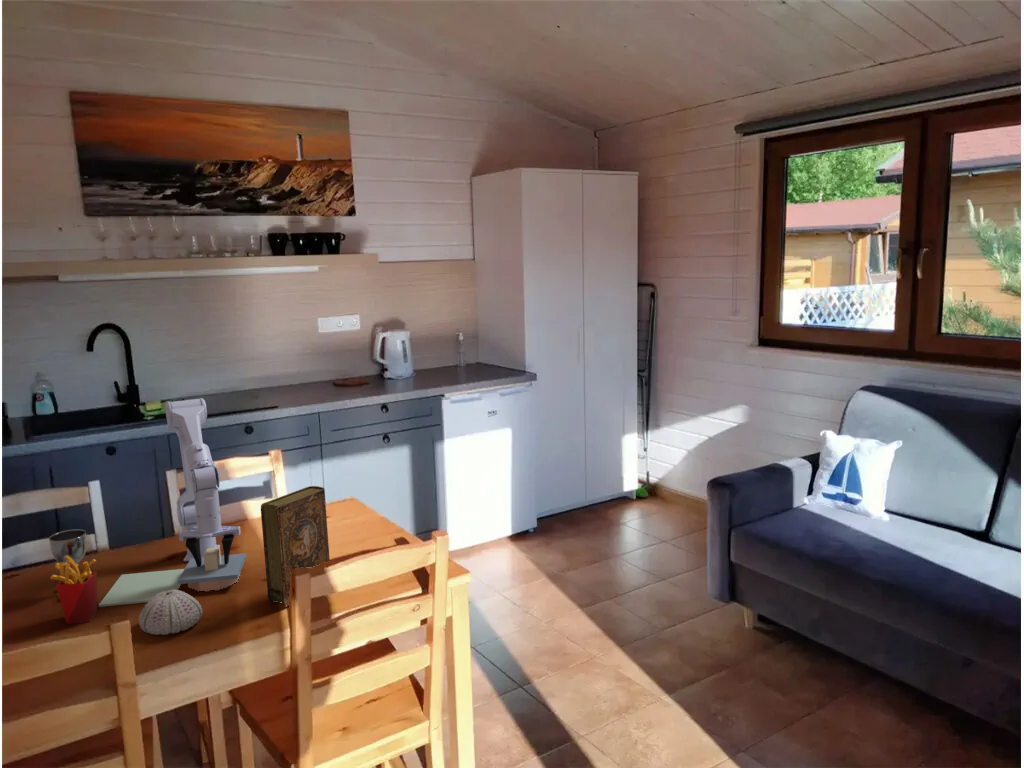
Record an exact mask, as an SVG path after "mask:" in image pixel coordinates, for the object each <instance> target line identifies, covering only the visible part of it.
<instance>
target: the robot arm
mask: <svg viewBox="0 0 1024 768" xmlns="http://www.w3.org/2000/svg"><path fill="white" fill-rule="evenodd" d="M206 403H207V402H206V400H205V399H204V398H203V397H199V398H195V399H194V398H193V399H187V400H186V399H184V400H177V401H167V402H166V403H165V407H164V408H165V417H166V423H167V428H168V430H169V432H172V433H176V436H177V437H178V440H179V441H178V442H179V447H180V455H181V456H180V457H181V462H182V471H183V476H184V477H183V478H184V486H185V491H184V492H183V493H182V494H181V495H180V496H179V497H178V498H177V500H176V513H177V521H178V524H179V526H180V527H182V528H184V530H181V531H180V532H179V533H178V538H179V539H178V540H179V542H183V541H185V547H186V552H187V553H186V555H185V557H184V558H183V562H189V561H190V559H191V558H194V559H195V561H196V564H197V567H200V566H201V564H202V559H201V557H204V554H205V553H206V551H207V549H208V548H218V547H220V548H221V545H220V544H217V538H219V537H222V539H221V544H222V550H223V555H224V563H225V564H228V562H229V555H230V553H231V548H232V544H233V541H234V538H235V537H239V536H240V535H241V526H240V525H237V526H234V525H232V526H230V525H229V526H228V525H222V519H221V510H220V508H221V507H220V499H219V498H220V497H219V491H218V490H219V487H220V473H219V470H218V467H217V465H216V463H215V461H213V458H212V454H211V450H210V447H209V446H208V444H206V443H204V442H203V441H204V440H203V435H202V428H203V427H205V424H206V421H207V418H208V411H207V404H206Z"/></svg>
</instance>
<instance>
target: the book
mask: <svg viewBox="0 0 1024 768" xmlns="http://www.w3.org/2000/svg"><path fill="white" fill-rule="evenodd" d="M325 493H326V492H325V487H323V486H318V485H309V486H307V487H304V488H303V487H302V488H301V489H299V490H296V491H295V490H294V491H293V492H290V493H288V494H284V495H281V496H279V497H277V498H274V499H271V500H267V501H266V502H263V503H261V505H260V515H261V516H260V518H261V528H262V541H263V552H264V564H265V565H264V566H265V575H266V578H265V579H266V586H267V598H268V601H269V603H271V602H273V601H278V602H282V603H283V604H282V603H281V604H282V605H283V606H284V607H285V608H287V607H286V605H287V603H288V599H289V593H290V578H291V571H292V570H293V569H295V568H300V567H313V566H316V565H319V564H322V563H324V562H328V561H330V562H331V560H330V545H329V532H328V521H327V506H326V494H325Z"/></svg>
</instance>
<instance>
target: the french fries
mask: <svg viewBox="0 0 1024 768" xmlns="http://www.w3.org/2000/svg"><path fill="white" fill-rule="evenodd" d="M64 558H65V559H66V560H67V561H66V562H67V563H66V562H65V563H64V562H61V563H59V562H56V563H55V564H54V568H55V569H57V570H58V571H59V575H57V574H52V575H51V576H50V577H49V578H50V579H51V580H56V581H59V582H58V583H57V584H56V585H55V588H56V590H57V595H58V598H59V601H60V605H61V609H62V613H63V616H64V620H65V623H66V625H72V624H81V623H82V624H84V623H85V624H86V623H89V622H90V621H91V620H92V619H93V618H94V617H95V616H96V614H97V613H98V590H97V589H98V585H97V584H98V581H97V580H98V579H97V578H98V577H97V571H93V572H92V570H91V568H90V567H91V566H92V565H93V564H94V563H96V562H97V560H96V559H95V558H93V559H92V560H90V561H89V562H88V560H87V561H84V562H83V563H82V564H83V565H82V566H83V567H84V568H83V571H82V572H81V571H80V569H79V566H80V565H79V563H78V564H76V563H75V561H74V560H73V559H72V558H71V557H69V556H68V555H65V557H64ZM68 563H69V564H68ZM70 565H71V566H72V567H73V569H72V568H71V567H70Z"/></svg>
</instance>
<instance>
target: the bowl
mask: <svg viewBox="0 0 1024 768" xmlns="http://www.w3.org/2000/svg"><path fill="white" fill-rule="evenodd" d="M240 574H241V572H240ZM240 574H239V576H240V577H241V575H240ZM238 579H239V580H240V578H239V577H238V578H237V579H227V580H217V581H206V582H196V583H187V588H188V587H190V588H189V589H191V588H192V589H191V590H193V589H195V590H194V591H196V590H197V592H199V591H205V592H211V591H210V590H215V591H221V590H220V589H222V590H223V588H224V589H226V588H228V586H229V587H231V586H233V585H235V584H234V583H236V582H237V583H238V582H239V581H238ZM237 583H236V584H237ZM232 584H233V585H232ZM230 585H231V586H230Z"/></svg>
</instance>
